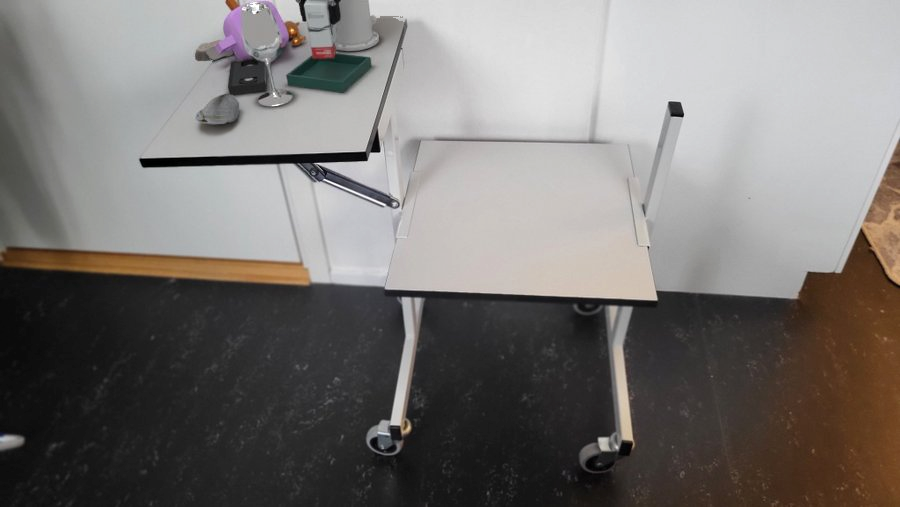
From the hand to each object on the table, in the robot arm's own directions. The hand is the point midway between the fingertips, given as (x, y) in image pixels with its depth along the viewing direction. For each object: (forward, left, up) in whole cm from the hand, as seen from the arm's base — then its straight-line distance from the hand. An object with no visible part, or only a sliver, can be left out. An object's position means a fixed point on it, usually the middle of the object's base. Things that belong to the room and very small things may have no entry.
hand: (321, 20), depth 145 cm
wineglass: (+14, -6, -13) cm, 20 cm away
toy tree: (-20, -40, -5) cm, 44 cm away
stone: (-4, -33, -14) cm, 35 cm away
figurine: (-13, -24, -12) cm, 30 cm away
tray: (0, 0, -13) cm, 13 cm away
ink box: (0, 0, -7) cm, 7 cm away
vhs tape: (+7, -17, -13) cm, 23 cm away
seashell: (+26, -12, -13) cm, 31 cm away
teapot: (-3, -17, -3) cm, 18 cm away
